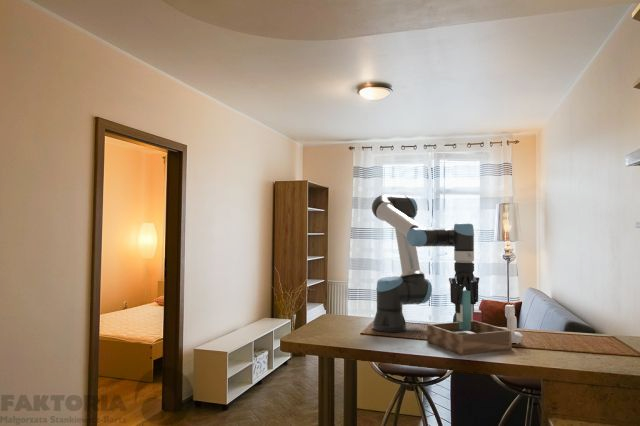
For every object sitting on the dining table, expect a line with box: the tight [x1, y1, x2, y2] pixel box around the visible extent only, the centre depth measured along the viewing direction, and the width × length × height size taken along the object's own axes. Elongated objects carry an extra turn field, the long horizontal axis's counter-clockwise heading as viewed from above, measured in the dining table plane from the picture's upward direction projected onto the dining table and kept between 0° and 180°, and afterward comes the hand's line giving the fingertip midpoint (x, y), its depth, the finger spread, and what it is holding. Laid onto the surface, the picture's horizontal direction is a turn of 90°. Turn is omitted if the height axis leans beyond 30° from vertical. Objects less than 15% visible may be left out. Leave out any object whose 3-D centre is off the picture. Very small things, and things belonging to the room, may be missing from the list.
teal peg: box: [459, 289, 471, 330], centre depth 170 cm, size 4×4×15 cm
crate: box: [426, 321, 513, 356], centre depth 168 cm, size 20×24×7 cm
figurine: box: [504, 304, 524, 345], centre depth 173 cm, size 7×9×15 cm
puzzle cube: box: [455, 307, 483, 323], centre depth 190 cm, size 10×10×10 cm
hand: (464, 320), depth 170 cm, fingers closed on teal peg, 4 cm apart
